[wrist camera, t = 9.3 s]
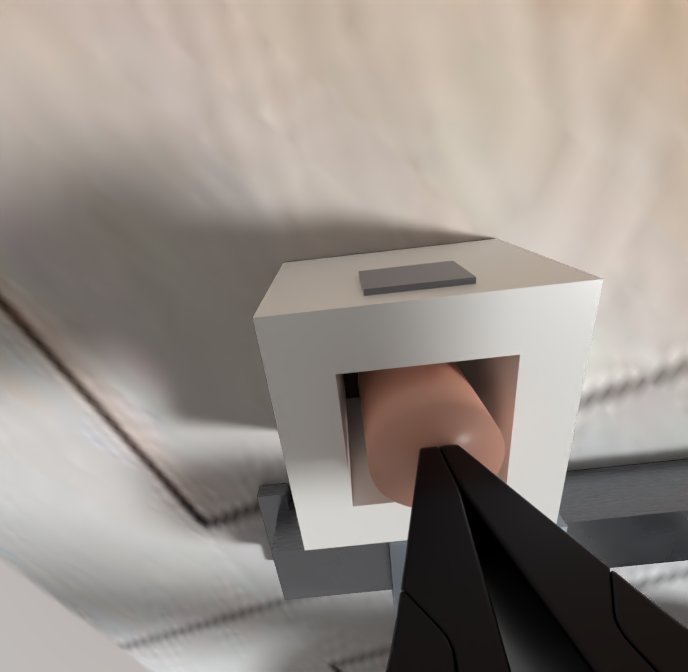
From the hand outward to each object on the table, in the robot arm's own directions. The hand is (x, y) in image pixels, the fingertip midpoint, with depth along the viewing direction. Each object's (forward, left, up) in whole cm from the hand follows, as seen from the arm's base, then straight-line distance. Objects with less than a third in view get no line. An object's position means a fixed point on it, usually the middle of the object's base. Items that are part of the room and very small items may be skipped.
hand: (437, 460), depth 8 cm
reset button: (0, 0, -3) cm, 3 cm away
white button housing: (0, 0, -6) cm, 6 cm away
